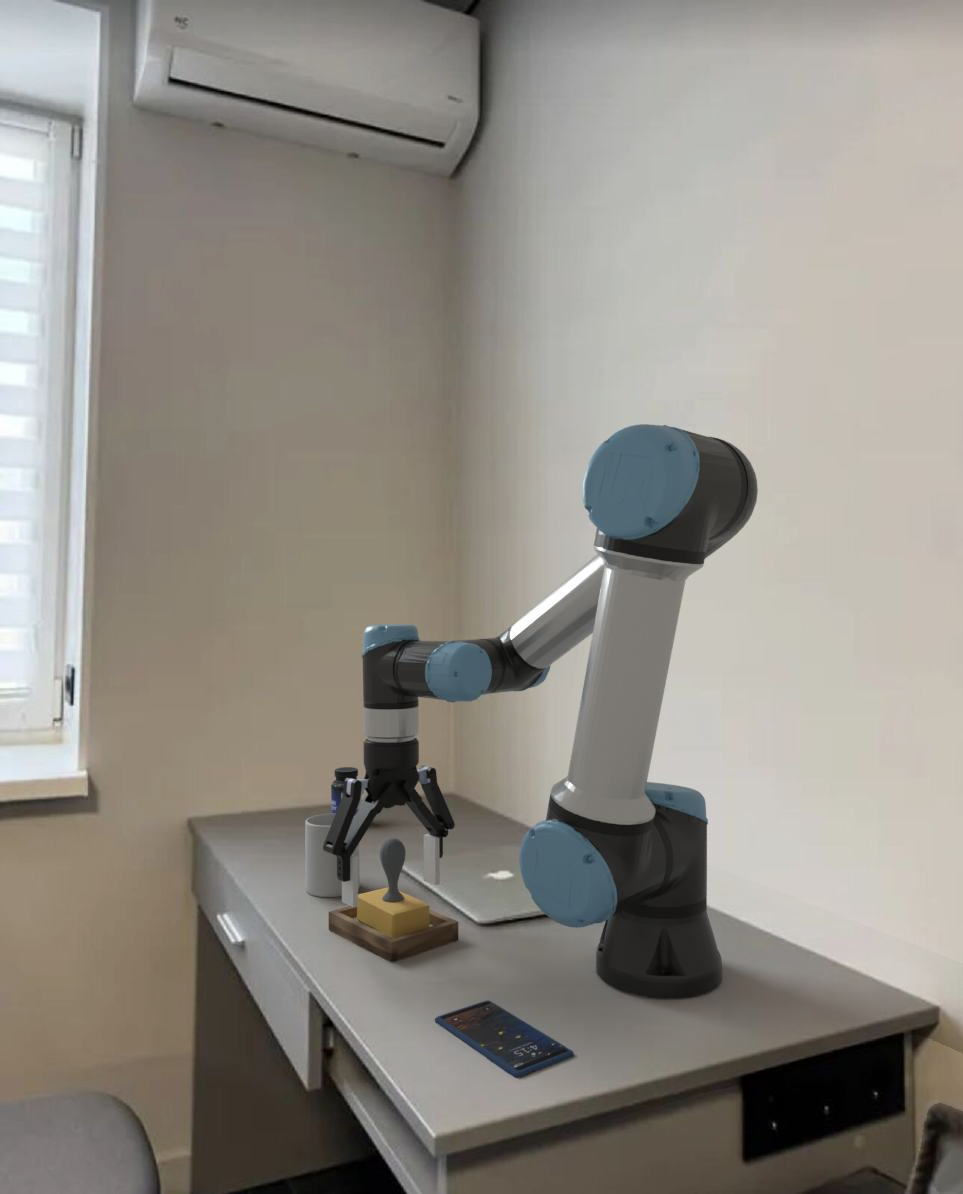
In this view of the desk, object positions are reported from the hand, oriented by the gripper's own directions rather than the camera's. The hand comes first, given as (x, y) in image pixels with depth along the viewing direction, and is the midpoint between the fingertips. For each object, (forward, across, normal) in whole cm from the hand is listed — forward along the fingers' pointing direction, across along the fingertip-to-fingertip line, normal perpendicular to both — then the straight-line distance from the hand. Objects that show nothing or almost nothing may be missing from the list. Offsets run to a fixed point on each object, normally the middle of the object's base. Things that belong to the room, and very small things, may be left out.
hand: (392, 893), depth 126 cm
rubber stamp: (+5, 0, 0) cm, 5 cm away
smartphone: (+6, +8, +31) cm, 33 cm away
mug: (+6, -5, -24) cm, 25 cm away
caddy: (+6, 0, 0) cm, 6 cm away
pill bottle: (+6, -28, -56) cm, 63 cm away
